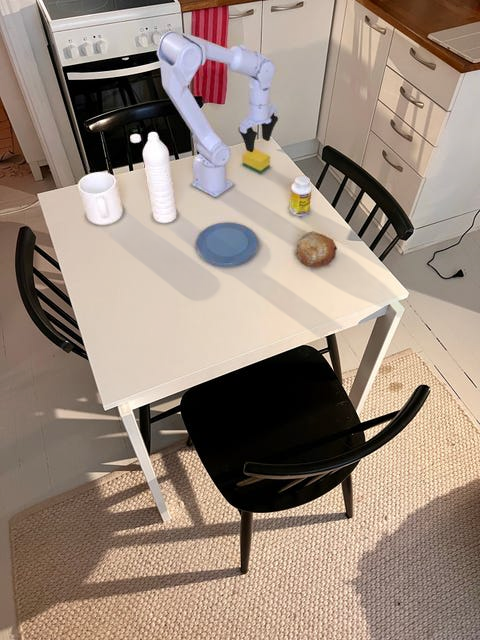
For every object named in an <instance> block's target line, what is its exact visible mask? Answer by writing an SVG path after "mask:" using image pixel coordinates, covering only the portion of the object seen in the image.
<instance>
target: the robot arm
mask: <svg viewBox="0 0 480 640" xmlns="http://www.w3.org/2000/svg"><path fill="white" fill-rule="evenodd" d="M156 56H157V58H158V60H159V66H160V76H161V85H162V87H163V89H164V91H165V93H166V94H167V96H168V97H169V99H170V100H171V102H172V104H173V105H174V107H175V109H176V110H177V111H178V113H179V115H180V116H181V118H182V120H183V121H184V122H185V124H186V126H187V127H188V129H189V130H190V132H191V134H192V136H191V137H192V140H193V142H194V148H195V150H196V151H197V152H198V154H197V155H196V156H195V157H194V159H193V163H192V173H193V183H191V185H192V186H193V187H195V188H197V189H199V190H200V191H202V192H204V193H206V194H208V195H210V196H212V197H213V198H217V197H218V196H220V195H221V194H223V193H224V192H226V191H227V190H229V188H231V187H233V185H234V184H233V183H232V182H231V181H229V180H227V163H228V161H229V160H230V158H231V154H232V152H231V151H232V150H231V148H230V146H229V145H228V144H225V143H224V142H223V141H222V139H221V138H220V137H219V136H218V134H217V133H215V131H214V129H213V128H212V127H211V125H210V123H209V121H208V120H207V117H206V116H205V114H204V113H203V111H202V109H201V107H200V105H199V104H198V102H197V100H196V99H195V97H194V95H193V94H192V92H191V90H190V88H189V85H190V83H191V82H192V80H193V78H194V76H195V75H196V73H197V72H198V70H199V68H200V66H204V65H205V63H206V61H207V60H209V61H214V62H218V63H222V64H225V65H226V67H227V69H228V70H229V71H230V72H234V73H237V74H240V75H244V76H246V77H248V114H247V115H246V117H245V119H244V120H243V121H242V122H241V123H240V124H239V126H238V133H239V135H240V136H241V138H242V139H243V143H244V146H245V149H246V152H247V151H250V152H253V150H254V149H255V143H256V139H257V135H258V132H257V131H255V130H254V129H253V127H257V126H259V125H261V136H262V140H264V141H266V142H270V140H271V136H272V133H273V130H274V129H275V126H276V125H277V123H278V121H279V117H278V116H277V115H276V114H277V113H278V107H277V106H275V105H273V104H271V105H270V97H271V96H270V94H271V85H272V80H273V78H274V76H275V74H276V69H277V68H276V67H275V64H274V62H273V60H272V59H271V58H270V57H267V56H266V55H264V54H262V53H261V52H260V51H259V50H255V49H254V50H249V49H248V47H247V46H245V45H243V44H240V45H239V46H238V45H234V46H232V47H230V48H227V47H224V46H221V45H219V44H216V43H213V42H211V41H209V40H206V39H205V38H201V37H198V36H195V35H191V34H188V33H183V32H181V33H179V32H177V31H176V30H169V31H166V32H165V33H164V34H162V36H161V37H160V40H159V42H158V47H157V50H156Z"/></svg>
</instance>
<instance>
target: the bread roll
mask: <svg viewBox="0 0 480 640" xmlns="http://www.w3.org/2000/svg"><path fill="white" fill-rule="evenodd" d="M337 250H338V247H337V245H336V243H335V241H334V239H333V238H331V237H329V236H327V235H325V234H322V233H320V232H316V231H309V232H306V233H305V234H304V235H303V236H301V238H300V239H299V240H298V244H297V249H296V250H295V255H297V259H298V260H299V262H300V263H301V264H302V265H303V266H305V267H308V268H313V269H317V268H323V267H325V266H327V265H329V264H330V263H331V262H333V260H334V259H335V257H336V253H337Z"/></svg>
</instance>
